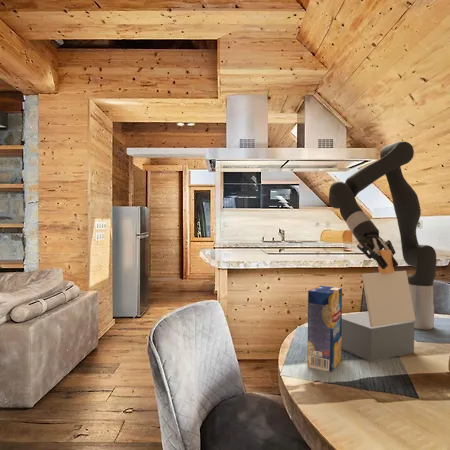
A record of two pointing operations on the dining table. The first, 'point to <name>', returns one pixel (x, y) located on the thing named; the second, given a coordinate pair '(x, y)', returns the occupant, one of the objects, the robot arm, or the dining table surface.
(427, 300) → the robot arm
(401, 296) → the lid flap
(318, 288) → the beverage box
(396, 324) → the carton
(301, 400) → the dining table surface
